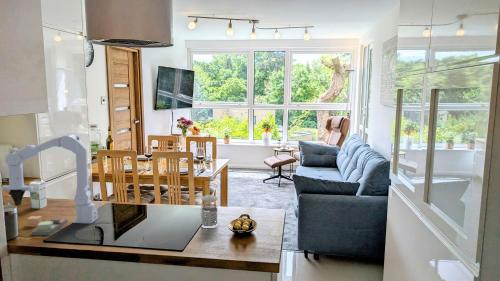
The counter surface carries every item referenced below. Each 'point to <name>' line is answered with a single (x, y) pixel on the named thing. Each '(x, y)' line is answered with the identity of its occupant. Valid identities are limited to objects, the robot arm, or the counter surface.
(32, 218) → the terracotta plug
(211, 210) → the french press
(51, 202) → the counter surface
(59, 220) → the cable comb
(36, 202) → the syrup box
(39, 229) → the sage plug
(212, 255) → the counter surface
